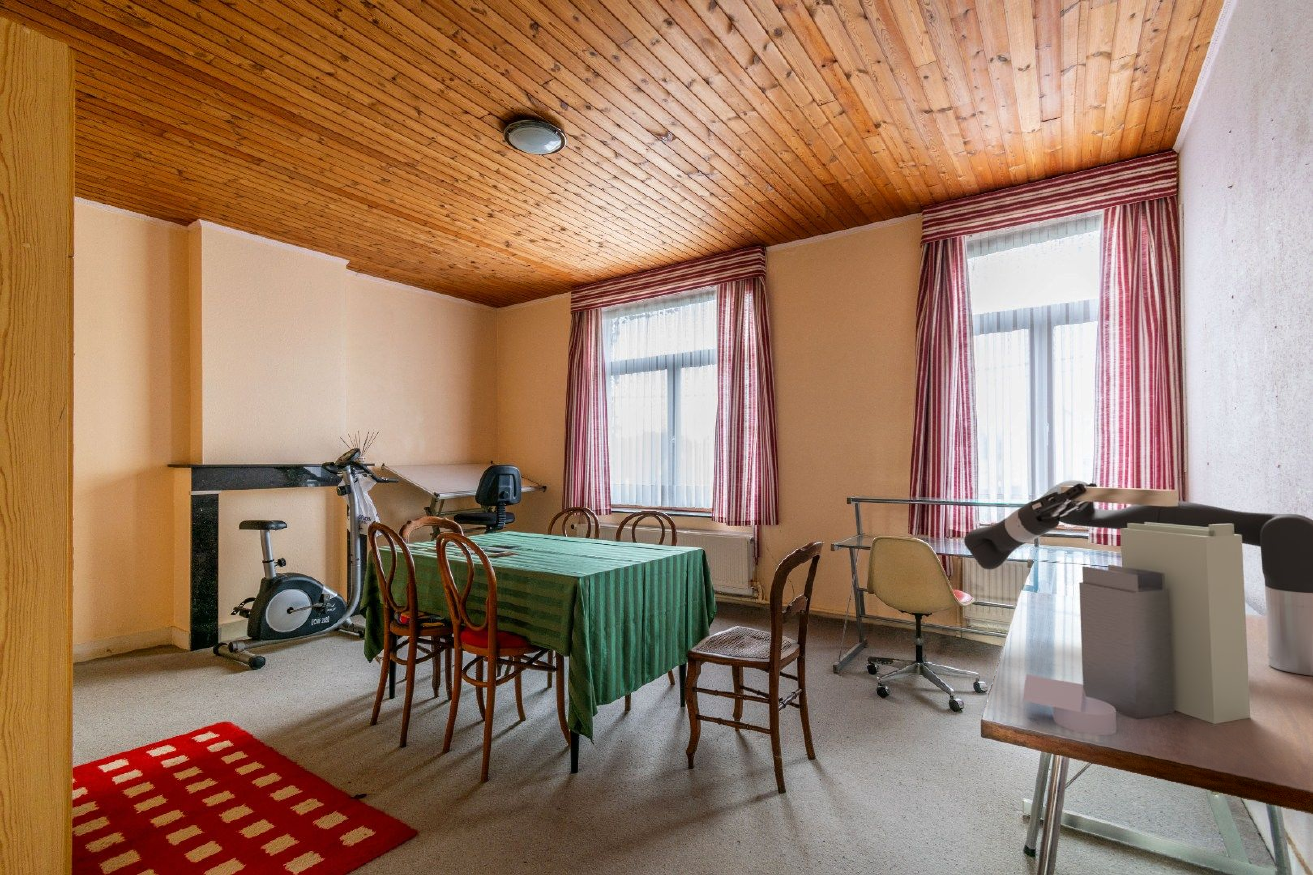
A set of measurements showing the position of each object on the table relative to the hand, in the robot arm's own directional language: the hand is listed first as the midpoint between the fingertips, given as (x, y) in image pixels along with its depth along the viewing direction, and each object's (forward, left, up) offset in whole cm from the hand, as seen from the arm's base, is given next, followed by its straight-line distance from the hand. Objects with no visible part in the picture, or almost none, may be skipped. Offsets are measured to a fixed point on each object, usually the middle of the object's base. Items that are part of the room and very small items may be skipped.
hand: (1089, 487), depth 134 cm
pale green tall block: (-12, +12, -40) cm, 43 cm away
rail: (-4, +4, -3) cm, 6 cm away
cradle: (-3, +17, -40) cm, 43 cm away
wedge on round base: (+7, +30, -40) cm, 50 cm away
